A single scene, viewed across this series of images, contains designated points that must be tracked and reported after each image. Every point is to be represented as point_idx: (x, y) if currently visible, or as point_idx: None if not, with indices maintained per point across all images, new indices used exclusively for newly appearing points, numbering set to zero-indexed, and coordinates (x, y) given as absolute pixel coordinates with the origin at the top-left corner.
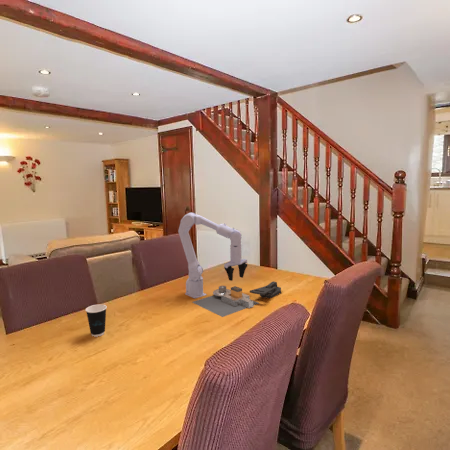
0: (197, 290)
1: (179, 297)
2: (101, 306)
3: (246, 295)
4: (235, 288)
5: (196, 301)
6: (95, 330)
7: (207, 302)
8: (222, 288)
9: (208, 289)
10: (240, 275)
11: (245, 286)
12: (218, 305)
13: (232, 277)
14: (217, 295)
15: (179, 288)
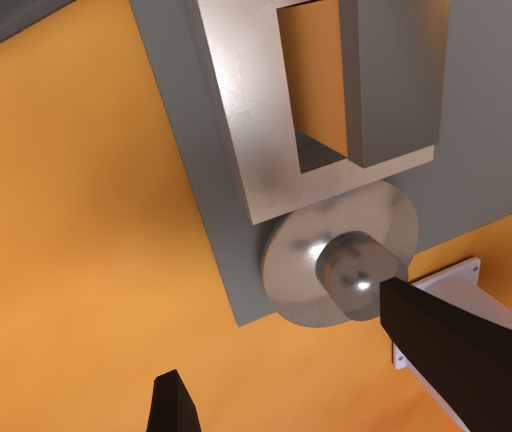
0: (492, 302)
1: (503, 299)
2: None
3: (227, 3)
4: (425, 68)
5: (504, 206)
6: None
7: (478, 160)
8: (393, 256)
9: (324, 379)
10: (194, 422)
11: (25, 405)
12: (470, 59)
13: (425, 306)
14: (412, 208)
15: (427, 406)
